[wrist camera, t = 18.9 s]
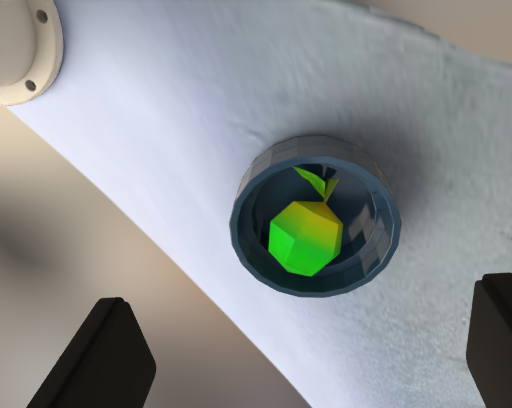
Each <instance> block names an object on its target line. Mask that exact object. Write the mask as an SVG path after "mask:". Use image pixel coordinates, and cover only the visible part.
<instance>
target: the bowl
mask: <svg viewBox="0 0 512 408" xmlns="http://www.w3.org/2000/svg"><path fill="white" fill-rule="evenodd" d="M292 166H294V167H296V168H299V169H302V170H305V171H307V172H310V173H313V174H316V175H318V176H319V177H320V178H321V179H322V180H323V181H324V182H325V187H326V182H327V178H339V180H338V182H337V184H336V185H335V187H334V189H333V191H332V193H331V194H330V196H329V198H328V200H327V201H326V203H325V204H326V205H327V206H328V207H329V208H330V210H331V211H332V212H333V213H334V214H335V215H336V216H337V218H338V219H339V220H340V221H341V222H342V223H343V230H342V239H341V249H340V254H339V255H337V256H336V257H335V258H334V259H333V260H332V261H330V262H329V263H328V264H327V265H326V266H325V267H323V268H322V269H321V270H320V271H319V272H318V273H316V274H314V275H313V276H311V277H310V276H305V275H301V274H296V273H291V272H288V271H287V270H286V269H285V268H284V267H283V266H282V265H281V264H280V263H279V262H278V261H277V260H276V259H275V257H274V256H273V255H272V254H271V253H270V252H269V251H268V250H269V236H270V222H271V221H272V220H273V219H274V218H275V217H276V216H277V215H278V214H280V213H281V212H282V211H283V210H284V209H285V208H286V207H287V206H289V205H290V204H291V203H292V202H293V201H307V202H323V197H322V195H321V194H320V193H319V192H318V191H317V190H316V189H315V188H314V187H313V186H312V185H311V184H310V183H309V182H308V181H307V180H306V179H305V178H304V177H302V176H301V175H300V174H299V173H298V172H297V171H296V170H295V169H294V168H293V167H292ZM229 226H230V234H231V242H232V246H233V248H234V250H235V252H236V254H237V256H238V258H239V260H240V262H241V264H242V265H243V266H244V267H245V268H246V269H247V270H248V271H249V272H250V273H251V274H252V275H253V276H254V277H255V278H256V279H257V280H258V281H260V282H262V283H264V284H266V285H267V286H269V287H271V288H273V289H275V290H276V291H279V292H282V293H286V294H290V295H294V296H297V297H314V298H324V297H325V298H326V297H330V296H335V295H339V294H344V293H348V292H350V291H352V290H354V289H356V288H358V287H360V286H362V285H364V284H366V283H368V282H370V281H371V280H372V279H373V278H375V277H376V276H377V275H378V274H379V273H380V272H381V271H382V270H383V269H384V268H385V267H386V266H387V265H388V263H389V261H390V260H391V258H392V256H393V254H394V252H395V251H396V249H397V247H398V244H399V237H400V230H401V219H400V215H399V211H398V207H397V203H396V200H395V198H394V195H393V193H392V191H391V189H390V187H389V185H388V183H387V180H386V178H385V176H384V174H383V173H382V171H381V170H380V169H379V167H378V166H377V165H376V163H375V162H374V160H373V159H372V158H371V157H370V156H369V155H368V154H366V153H365V152H363V151H362V150H360V149H359V148H357V147H356V146H354V145H353V144H351V143H349V142H346V141H343V140H339V139H335V138H332V137H328V136H299V137H295V138H292V139H290V140H287V141H284V142H281V143H278V144H275V145H273V146H272V147H271V148H269V149H268V150H267V151H265V152H264V153H263V154H261V155H260V156H259V157H257V158H256V159H255V160H254V161H253V163H252V164H251V166H250V167H249V169H248V170H247V172H246V173H245V175H244V176H243V178H242V180H241V183H240V186H239V190H238V193H237V196H236V199H235V202H234V206H233V210H232V214H231V218H230V222H229Z"/></svg>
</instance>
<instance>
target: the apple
mask: <svg viewBox="0 0 512 408" xmlns="http://www.w3.org/2000/svg"><path fill="white" fill-rule="evenodd" d="M292 167H293V168H294V169H295V170H296V171H297V172H298V173H299V174H300V175H301V176H302V177H304V178H305V179H306V180H307V181H308V182H309V183H310V184H311V185H312V186H313V187H314V188H315V189H316V190H317V191H318V192H319V193H320V194H321V195H322V197H323V202H307V201H293V202H292V203H291V204H290V205H289V206H287V207H286V208H285V209H284V210H283V211H282V212H281V213H280V214H278V215H277V216H276V217H275V218H274V219H273V220H272V221H271V222H270V236H269V250H268V251H269V252H270V253H271V254H272V255H273V256H274V257H275V259H276V260H277V261H278V262H279V263H280V264H281V265H282V266H283V267H284V268H285V269H286V270H287V271H288V272H291V273H296V274H301V275H305V276H310V277H311V276H313V275H314V274H316V273H318V272H319V271H320V270H321V269H322V268H323V267H325V266H326V265H327V264H328V263H329V262H330V261H332V260H333V259H334V258H335V257H336V256H337V255H339V254H340V249H341V239H342V230H343V223H342V222H341V221H340V220H339V219H338V218H337V216H336V215H335V214H334V213H333V212H332V211H331V210H330V208H329V207H328V206H327V205H326V204H325V203H326V201H327V200H328V198H329V196H330V194H331V193H332V191H333V189H334V187H335V185H336V184H337V182H338V180H339V178H327V182H326V187H325V182H324V181H323V180H322V179H321V178H320V177H319V176H318V175H316V174H313V173H310V172H307V171H305V170H302V169H299V168H296V167H294V166H292Z"/></svg>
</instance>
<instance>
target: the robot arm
mask: <svg viewBox="0 0 512 408" xmlns="http://www.w3.org/2000/svg"><path fill="white" fill-rule="evenodd" d="M46 14H47V16H46ZM47 17H48V18H47ZM62 55H63V35H62V27H61V23H60V19H59V15H58V11H57V8H56V6H55V3H54V1H53V0H0V106H12V105H18V104H22V103H25V102H28V101H30V100H33V99H35V98H36V97H38V96H40V95H41V94H43V93H44V92H45V91H46V90H47V89H48V88H49V87H50V86H51V85H52V83H53V81H54V80H55V78H56V76H57V75H58V72H59V69H60V65H61V62H62ZM466 360H467V364H468V368H469V370H470V372H471V375H472V377H473V379H474V381H475V383H476V386H477V388H478V390H479V392H480V395H481V397H482V399H483V401H484V403H485V406H486V408H512V273H494V274H484V276H483V278H482V280H478V281H476V282H475V288H474V295H473V303H472V311H471V318H470V326H469V334H468V342H467V349H466ZM155 374H156V363H155V360H154V358H153V356H152V354H151V352H150V349H149V347H148V345H147V343H146V340H145V338H144V336H143V333H142V331H141V329H140V327H139V324H138V323H137V320H136V318H135V316H134V313H133V311H132V309H131V307H130V305H129V303H128V302H125V301H124V300H123V298H121V297H115V298H101V299H99V300H98V302H97V303H96V304H95V306H94V307H93V309H92V310H91V312H90V313H89V315H88V316H87V318H86V319H85V321H84V322H83V324H82V325H81V327H80V328H79V330H78V331H77V333H76V334H75V336H74V337H73V339H72V340H71V342H70V343H69V345H68V346H67V348H66V349H65V351H64V352H63V353H62V355H61V356H60V358H59V360H58V361H57V362H56V364H55V366H54V367H53V368H52V370H51V371H50V373H49V375H48V376H47V378H46V379H45V380H44V382H43V383H42V385H41V386H40V388H39V389H38V391H37V392H36V394H35V395H34V397H33V398H32V400H31V401H30V403H29V404H28V406H27V407H26V408H143V406H144V403H145V400H146V398H147V395H148V393H149V390H150V388H151V385H152V382H153V380H154V377H155Z"/></svg>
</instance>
